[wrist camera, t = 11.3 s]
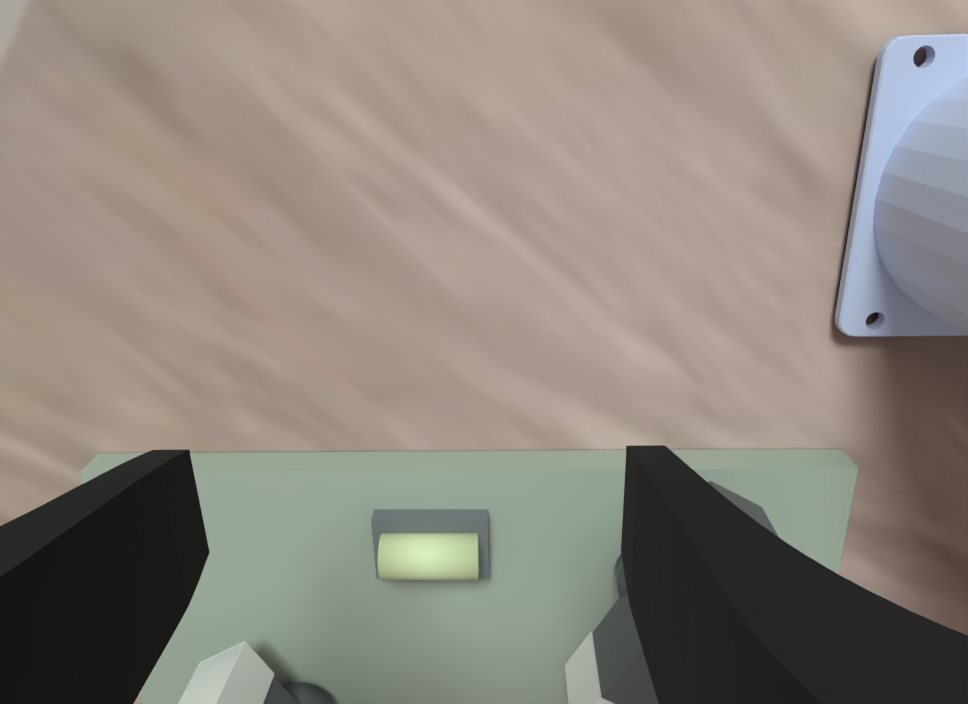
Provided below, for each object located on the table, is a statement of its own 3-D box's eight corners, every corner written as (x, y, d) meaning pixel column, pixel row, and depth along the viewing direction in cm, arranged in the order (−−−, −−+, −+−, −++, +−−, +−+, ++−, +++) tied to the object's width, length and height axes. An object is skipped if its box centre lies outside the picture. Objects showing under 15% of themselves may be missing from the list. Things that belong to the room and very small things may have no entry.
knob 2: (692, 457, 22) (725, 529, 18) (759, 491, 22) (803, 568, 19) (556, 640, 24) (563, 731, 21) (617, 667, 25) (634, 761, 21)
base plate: (841, 448, 23) (884, 498, 20) (784, 765, 28) (813, 837, 26) (99, 453, 24) (49, 501, 21) (176, 759, 29) (144, 828, 27)
